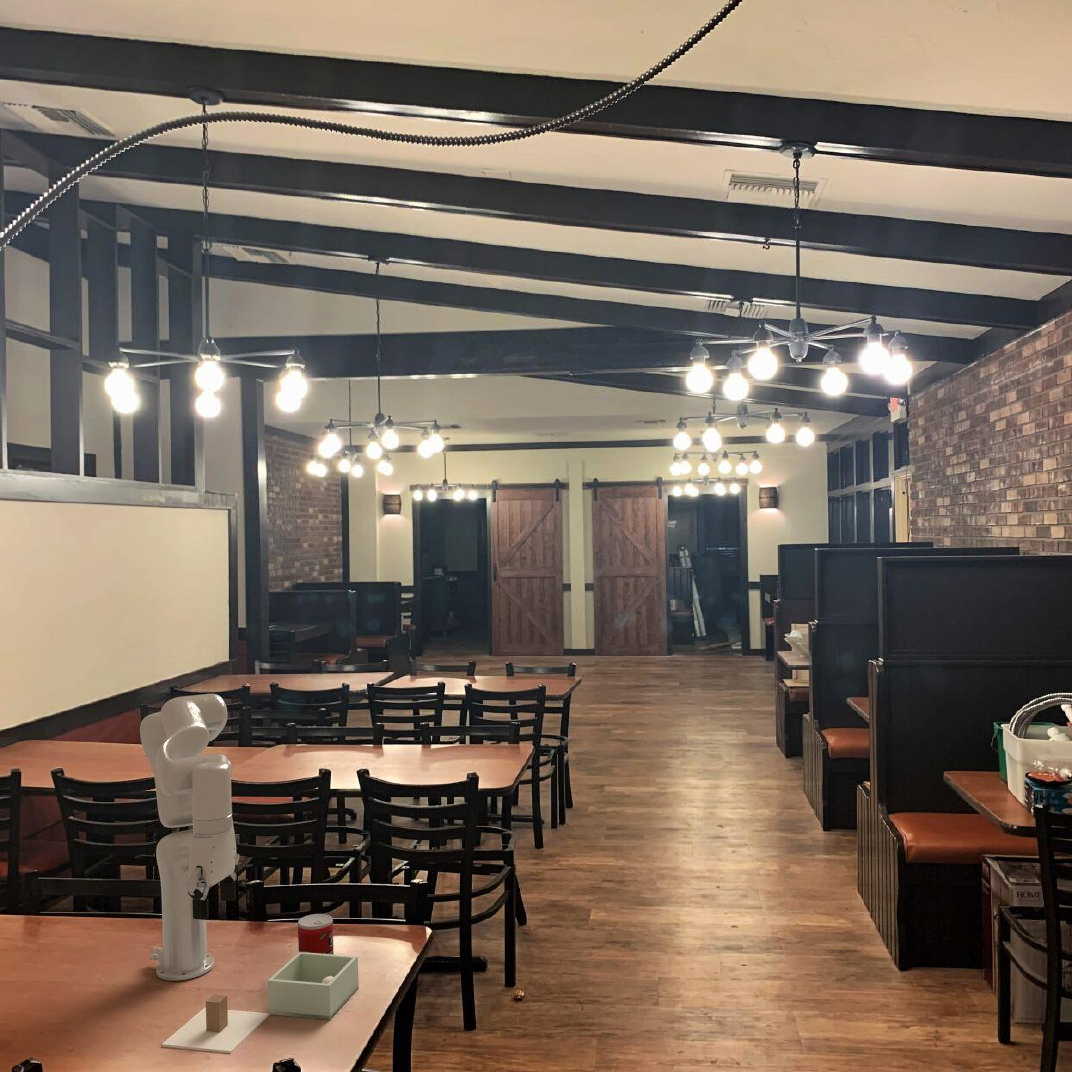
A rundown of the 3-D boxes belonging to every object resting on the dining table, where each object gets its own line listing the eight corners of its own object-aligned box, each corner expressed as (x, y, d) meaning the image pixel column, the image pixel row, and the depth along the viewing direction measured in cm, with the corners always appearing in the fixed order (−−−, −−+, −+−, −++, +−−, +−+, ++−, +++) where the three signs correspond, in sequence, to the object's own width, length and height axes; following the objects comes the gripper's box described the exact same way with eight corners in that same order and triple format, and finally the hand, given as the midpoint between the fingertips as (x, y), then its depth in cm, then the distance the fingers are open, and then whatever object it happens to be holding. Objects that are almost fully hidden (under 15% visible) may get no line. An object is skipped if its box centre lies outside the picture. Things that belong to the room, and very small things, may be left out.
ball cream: (318, 997, 204) (317, 980, 204) (325, 989, 208) (325, 972, 208) (333, 998, 203) (333, 981, 203) (340, 990, 207) (340, 974, 207)
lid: (161, 1049, 187) (161, 1013, 187) (204, 1012, 202) (203, 979, 202) (231, 1056, 184) (230, 1019, 184) (269, 1018, 199) (268, 984, 199)
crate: (268, 1014, 199) (267, 980, 199) (300, 983, 213) (299, 951, 213) (330, 1020, 196) (329, 985, 196) (358, 988, 209) (357, 956, 209)
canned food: (325, 976, 216) (324, 927, 216) (293, 974, 218) (291, 925, 218) (339, 961, 223) (338, 914, 223) (307, 959, 225) (306, 912, 225)
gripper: (219, 811, 203) (222, 892, 203) (170, 837, 186) (172, 925, 186) (251, 813, 201) (254, 895, 201) (204, 838, 184) (206, 928, 184)
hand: (214, 909), depth 193 cm, fingers open, 9 cm apart
